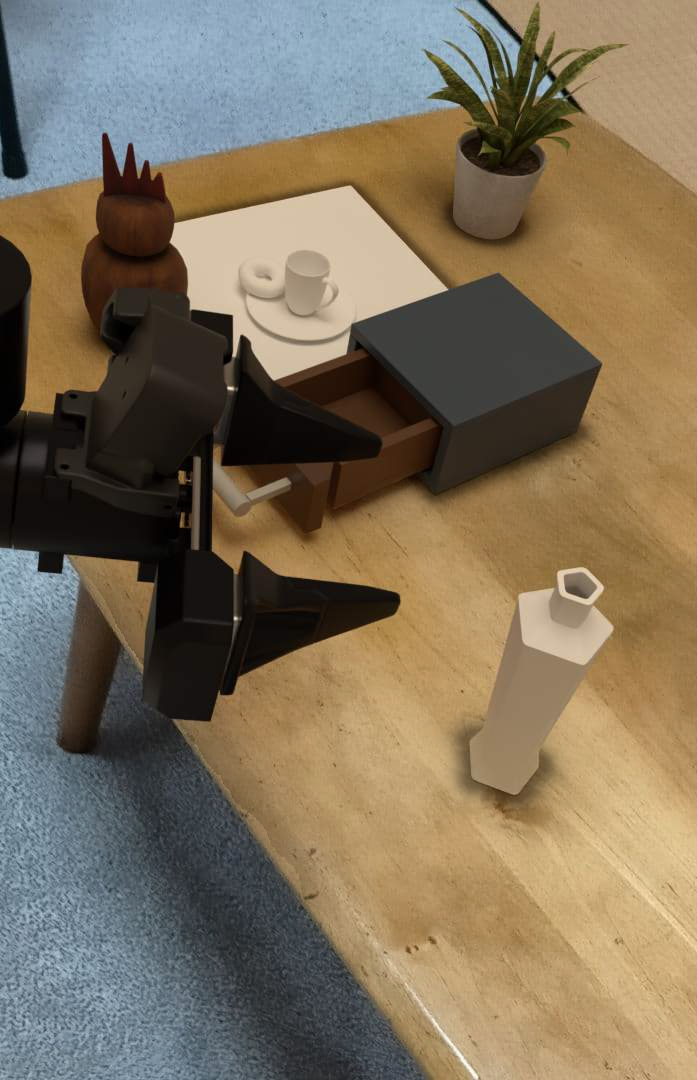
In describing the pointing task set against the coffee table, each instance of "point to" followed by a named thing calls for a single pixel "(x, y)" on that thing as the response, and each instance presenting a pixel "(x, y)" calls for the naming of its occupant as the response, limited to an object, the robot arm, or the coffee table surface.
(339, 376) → the drawer
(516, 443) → the cabinet
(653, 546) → the coffee table surface
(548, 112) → the house plant
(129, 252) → the wooden figurine
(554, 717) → the white pentagonal vase
